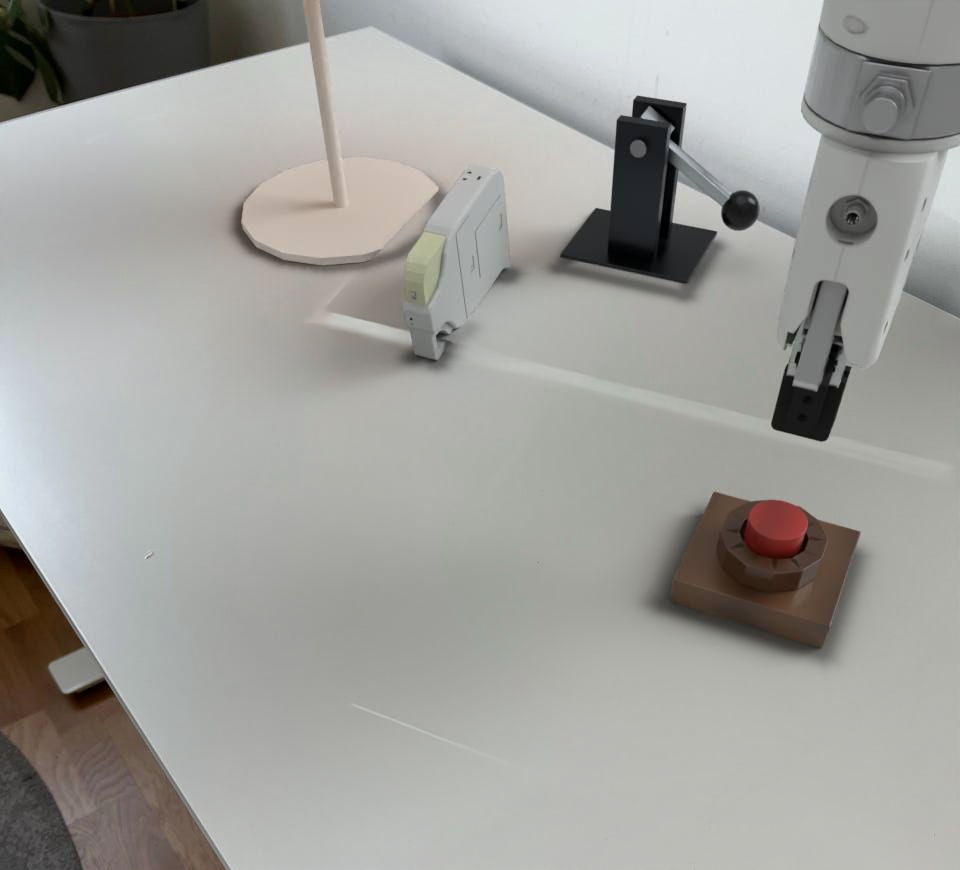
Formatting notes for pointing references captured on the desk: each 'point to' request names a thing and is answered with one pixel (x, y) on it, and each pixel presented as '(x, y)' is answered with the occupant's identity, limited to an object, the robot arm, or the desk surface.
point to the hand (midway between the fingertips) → (801, 426)
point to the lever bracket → (643, 203)
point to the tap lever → (712, 185)
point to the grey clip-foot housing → (456, 259)
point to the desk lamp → (333, 191)
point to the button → (775, 529)
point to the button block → (764, 574)
